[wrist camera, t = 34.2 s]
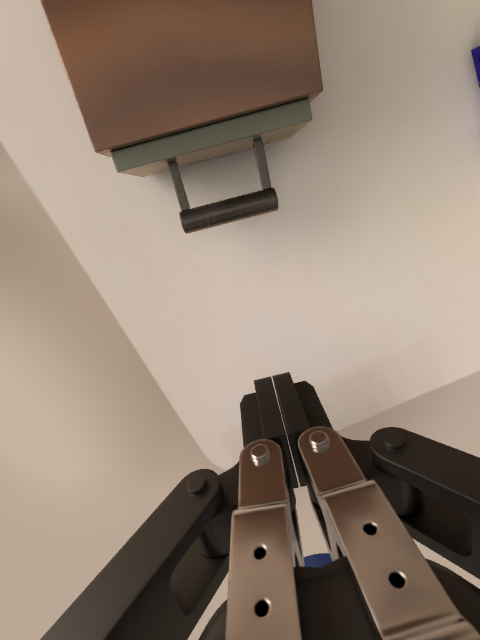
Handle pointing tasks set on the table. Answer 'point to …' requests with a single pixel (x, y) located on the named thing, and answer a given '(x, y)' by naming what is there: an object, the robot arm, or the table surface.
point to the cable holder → (477, 61)
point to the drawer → (213, 144)
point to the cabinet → (181, 62)
